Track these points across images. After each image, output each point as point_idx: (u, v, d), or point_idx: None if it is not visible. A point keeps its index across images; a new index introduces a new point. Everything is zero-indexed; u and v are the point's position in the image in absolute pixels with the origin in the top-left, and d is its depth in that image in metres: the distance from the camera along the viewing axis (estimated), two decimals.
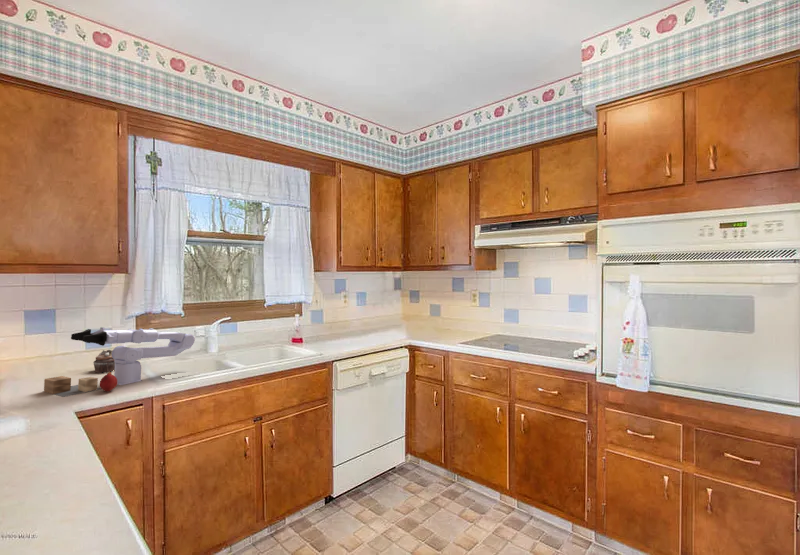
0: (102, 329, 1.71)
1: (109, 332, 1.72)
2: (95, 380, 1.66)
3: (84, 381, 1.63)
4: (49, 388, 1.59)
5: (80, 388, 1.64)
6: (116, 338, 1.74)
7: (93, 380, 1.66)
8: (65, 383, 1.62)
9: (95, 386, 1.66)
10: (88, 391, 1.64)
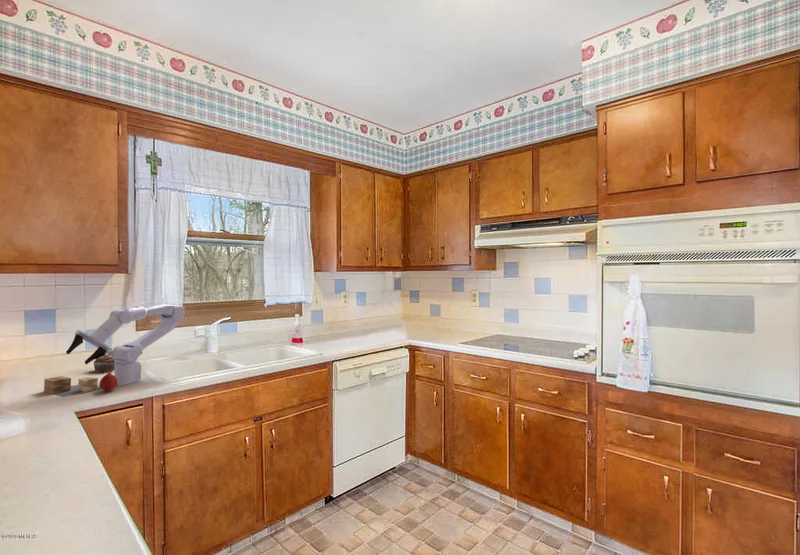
0: (95, 338, 1.66)
1: (102, 337, 1.68)
2: (95, 380, 1.66)
3: (84, 381, 1.63)
4: (49, 388, 1.59)
5: (80, 388, 1.64)
6: (109, 336, 1.72)
7: (93, 380, 1.66)
8: (65, 383, 1.62)
9: (95, 386, 1.66)
10: (88, 391, 1.64)
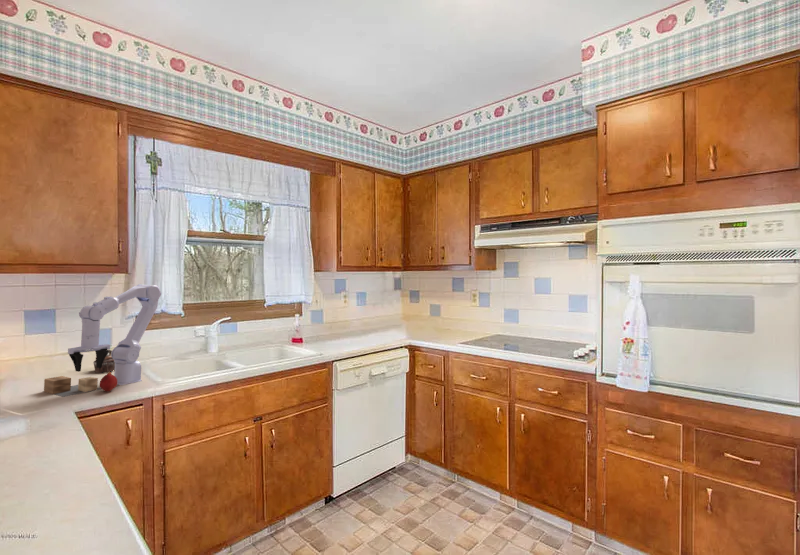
0: (96, 348, 1.65)
1: (98, 342, 1.67)
2: (95, 380, 1.66)
3: (84, 381, 1.63)
4: (49, 388, 1.59)
5: (80, 388, 1.64)
6: None
7: (93, 380, 1.66)
8: (65, 383, 1.62)
9: (95, 386, 1.66)
10: (88, 391, 1.64)
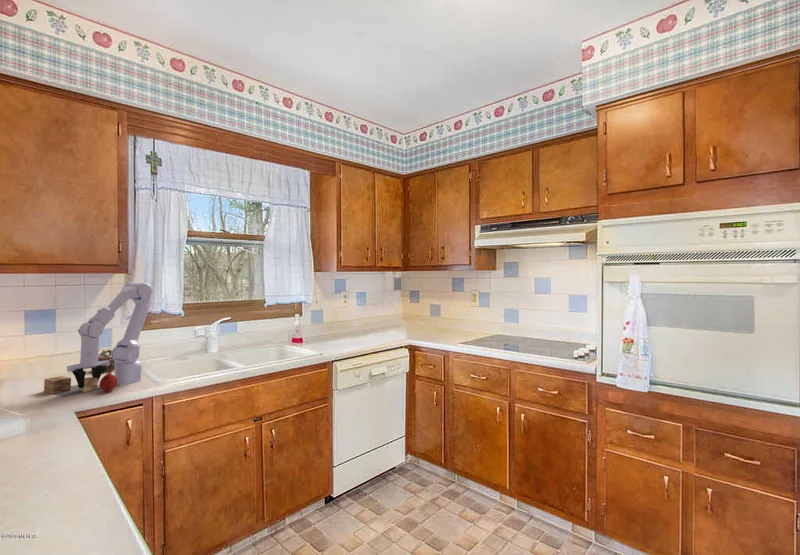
0: (95, 365, 1.65)
1: (97, 359, 1.67)
2: (95, 380, 1.66)
3: (84, 381, 1.63)
4: (49, 388, 1.59)
5: (80, 388, 1.64)
6: None
7: (93, 380, 1.66)
8: (65, 383, 1.62)
9: (95, 386, 1.66)
10: (88, 391, 1.64)
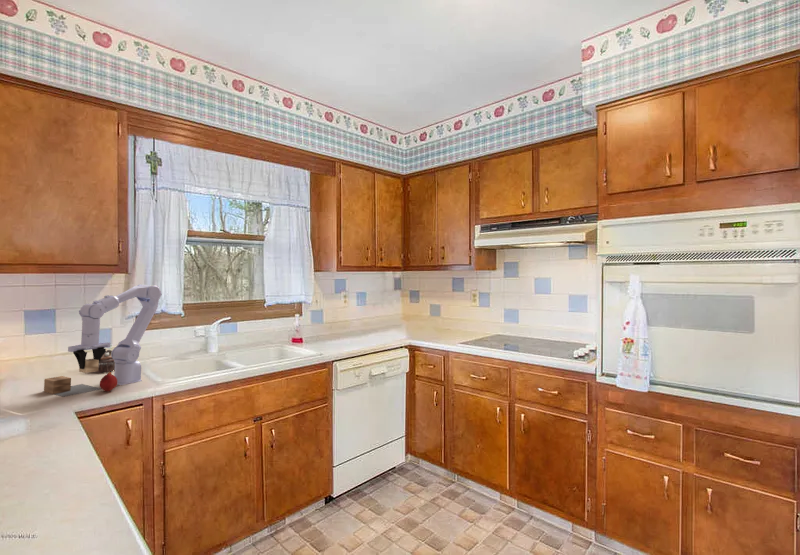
0: (96, 346, 1.65)
1: (98, 340, 1.67)
2: (96, 361, 1.67)
3: (85, 362, 1.63)
4: (49, 388, 1.59)
5: (82, 369, 1.64)
6: None
7: (94, 361, 1.66)
8: (65, 383, 1.62)
9: (96, 367, 1.67)
10: (88, 391, 1.64)
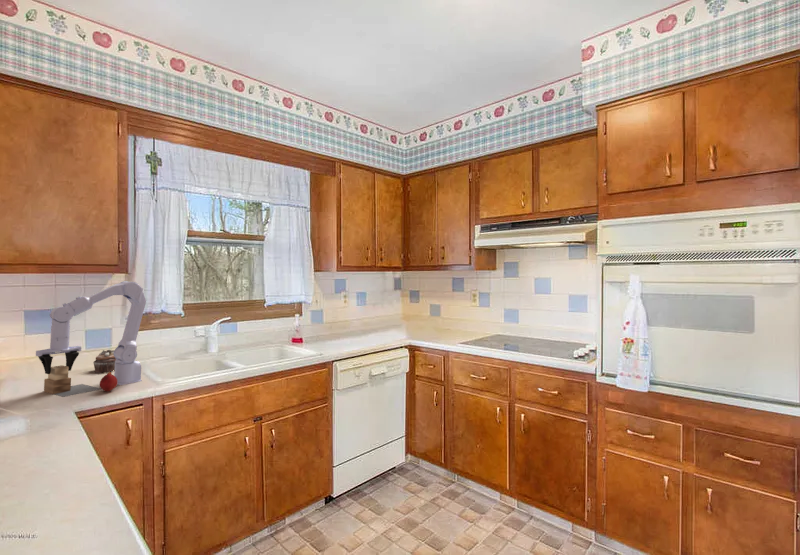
0: (66, 350, 1.62)
1: (68, 344, 1.63)
2: (66, 368, 1.63)
3: (54, 369, 1.60)
4: (49, 388, 1.59)
5: (50, 377, 1.61)
6: None
7: (64, 368, 1.62)
8: (65, 383, 1.62)
9: (66, 375, 1.63)
10: (88, 391, 1.64)
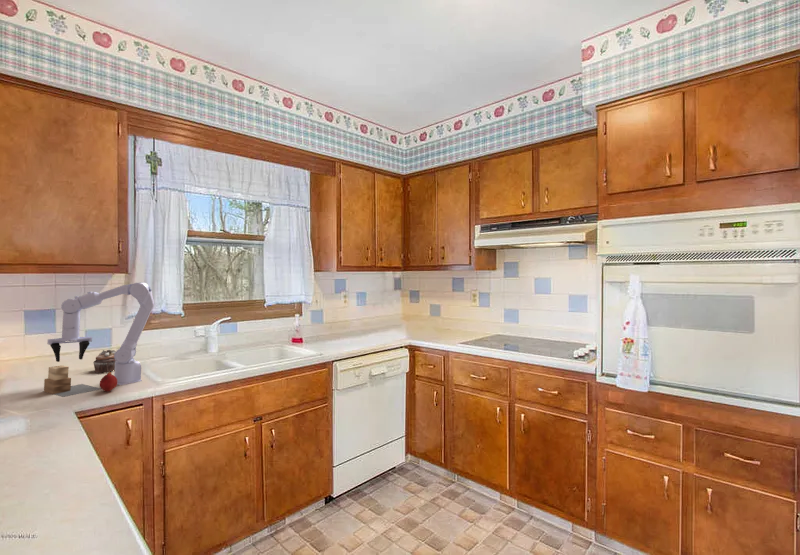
0: (74, 340, 1.71)
1: (77, 334, 1.73)
2: (66, 368, 1.63)
3: (54, 369, 1.60)
4: (49, 388, 1.59)
5: (50, 377, 1.61)
6: None
7: (64, 368, 1.62)
8: (65, 383, 1.62)
9: (66, 375, 1.63)
10: (88, 391, 1.64)
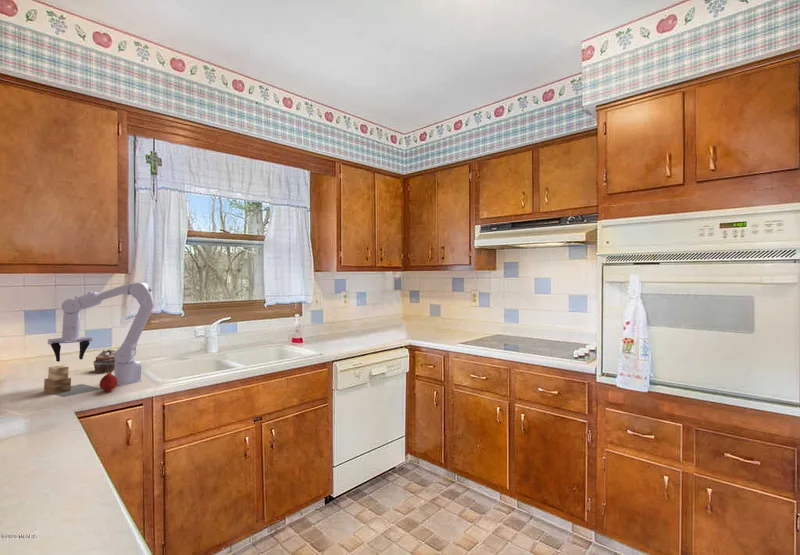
0: (74, 340, 1.72)
1: (77, 334, 1.73)
2: (66, 368, 1.63)
3: (54, 369, 1.60)
4: (49, 388, 1.59)
5: (50, 377, 1.61)
6: None
7: (64, 368, 1.62)
8: (65, 383, 1.62)
9: (66, 375, 1.63)
10: (88, 391, 1.64)
